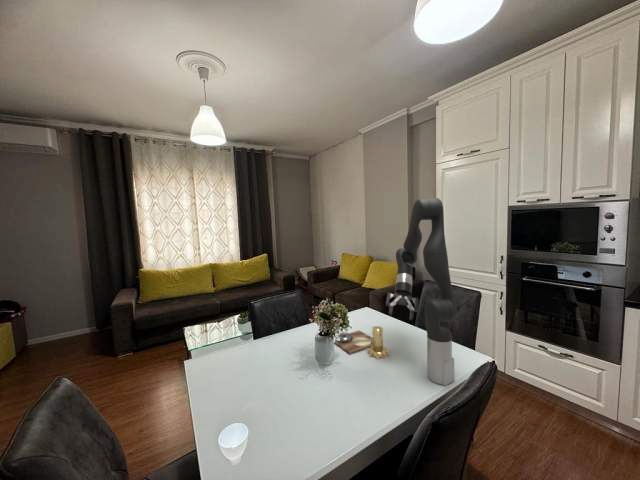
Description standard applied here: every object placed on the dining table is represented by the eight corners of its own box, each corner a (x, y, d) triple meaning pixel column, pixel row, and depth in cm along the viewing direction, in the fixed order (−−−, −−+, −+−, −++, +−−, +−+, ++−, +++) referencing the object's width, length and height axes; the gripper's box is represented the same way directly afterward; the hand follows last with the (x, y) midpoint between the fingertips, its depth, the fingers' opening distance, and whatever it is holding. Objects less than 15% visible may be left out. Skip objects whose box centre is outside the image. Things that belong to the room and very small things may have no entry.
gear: (355, 340, 139) (355, 334, 139) (342, 345, 134) (341, 338, 134) (345, 334, 147) (345, 328, 147) (332, 338, 143) (332, 331, 143)
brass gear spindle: (392, 355, 125) (391, 329, 124) (377, 361, 120) (376, 334, 119) (378, 347, 133) (378, 323, 132) (364, 352, 129) (363, 327, 128)
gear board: (380, 344, 137) (380, 341, 137) (349, 354, 127) (349, 352, 127) (359, 332, 152) (359, 330, 152) (330, 340, 143) (330, 338, 142)
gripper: (389, 278, 123) (385, 310, 114) (420, 284, 119) (419, 318, 111) (387, 285, 129) (383, 316, 120) (417, 290, 125) (415, 323, 117)
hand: (400, 317), depth 115 cm, fingers open, 8 cm apart
